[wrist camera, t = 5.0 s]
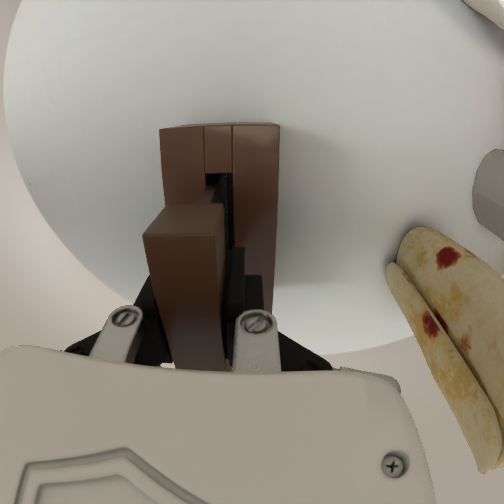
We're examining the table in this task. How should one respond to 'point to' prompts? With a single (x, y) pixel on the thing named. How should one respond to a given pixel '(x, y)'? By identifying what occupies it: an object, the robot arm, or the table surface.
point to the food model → (457, 332)
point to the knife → (192, 276)
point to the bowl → (489, 10)
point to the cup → (490, 192)
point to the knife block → (244, 182)
